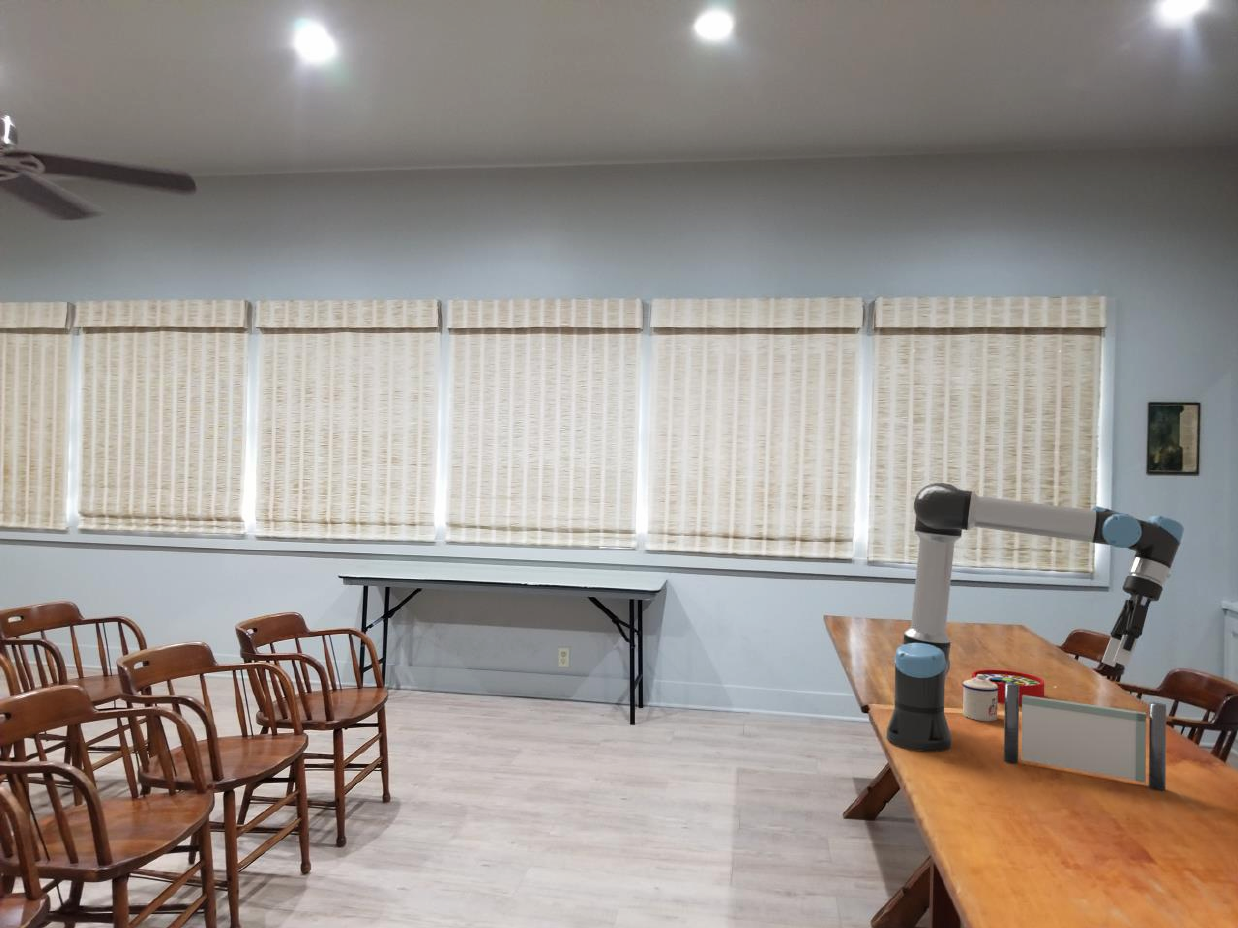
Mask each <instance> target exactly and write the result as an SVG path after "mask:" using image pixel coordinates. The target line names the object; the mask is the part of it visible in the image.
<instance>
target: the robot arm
mask: <svg viewBox="0 0 1238 928" xmlns="http://www.w3.org/2000/svg"><path fill="white" fill-rule="evenodd" d="M913 511H914V514H915V522H914V523H915V525H914V533H915V534H916V535H917V537H918V538H919V543H918V551H917V553H918V555H917V561H916V562H917V564H916V571H915V572H916V573H915V574H916V575H915V584H914V593H913V603H912V611H911V612H912V613H911V623H910V628H908V629H906V630H905V631H904V633H903V639H902V640H903V641H902V643H903V644H901V645H900V646H898V647H897V648H896V650H895V655H894V657H893V658H894V659H893V661H894V705H893V706H894V708H893V711H892V714H891V716H890V719H889V722H888V724H887V728H886V740H887V741H888V742H889V743H891V744H893V745H894V746H897V747H900V748H904V749H907V750H912V751H917V752H934V753H935V752H944V751H947V750H949V749H951V748H952V735H951V731H950V729H949V725H948V722H947V719H946V715H945V685H946V684H945V682H946V679H947V676H948V673H949V671H950V665H951V661H950V652H951V641H952V640H951V638H950V636H948V633H946V630H947V629H946V628H947V618H948V609H949V600H950V591H951V590H950V589H951V579H952V571H953V561H954V551H955V543H956V542H957V541H958V540H960V539H961V538H962V535H963V534H962V533H963V530H964V531H970V530H972V529H973V528H981V529H987V530H988V529H989V530H994V531H995V530H996V531H1003V532H1009V533H1010V532H1011V533H1018V534H1019V533H1020V534H1025V535H1033V536H1042V537H1047V538H1055V539H1062V540H1063V539H1064V540H1071V541H1076V542H1078V541H1079V542H1084V543H1085V542H1086V543H1093V544H1099V545H1104V546H1112V547H1114V548H1119V549H1120V548H1122V549H1128V550H1130V551H1134V553H1135V554H1134V557H1133V558H1132V561H1131V564H1130V566H1129V569H1128V572H1127V573H1128V574H1129V575H1128V576H1126V577H1125V580H1124V583H1123V586H1122V590H1123V591H1124V592H1125V593H1127V594H1130V598H1129V599H1125V600H1124V603H1123V606H1122V609H1121V611H1120V612H1119V616H1118V617H1117V619H1116V622H1115V623H1114V625H1113V628H1112V630H1111V631H1110V639H1109V642H1108V644H1107V646H1106V650H1105V652H1104V655H1103V657H1102V660H1101V663H1103V664H1106V665H1108V666H1111V667H1113V668H1115V667H1116V665H1117V664H1119V665H1122V666H1124V667H1129V666H1128V665H1129V662H1130V661H1131V658H1132V655H1133V652H1134V649H1135V647H1136V644H1137V642H1138V639H1139V638H1140V637H1141V636H1142V635H1143V630H1144V627H1145V622H1146V618H1147V614H1148V611H1149V607H1150V604H1151V603H1152V602H1158V601H1159V600H1160V598H1161V595H1162V592H1163V590H1164V588H1163V585H1165V583H1166V581H1167V578H1168V579H1169V578H1171V574H1170V573H1169V572H1170V570H1171V567H1172V564H1173V563H1174V560H1175V557H1176V555H1177V552H1178V549H1179V547H1180V545H1181V541H1182V538H1183V534H1184V531H1185V528H1184V525H1183V524H1182V523H1180V522H1179V521H1177V520H1175V519H1172V518H1169V517H1166V516H1165V517H1164V516H1162V515H1161V516H1160V515H1151V516H1150V517H1149V518H1148V519H1147V520H1142V519H1139V518H1135V517H1134V516H1132V515H1130V514H1129V513H1122V512H1118V511H1116V510H1112V509H1109V508H1107V507H1106V508H1105V507H1103V506H1098V505H1097V506H1094V507H1092V508H1091V509H1085V508H1077V507H1072V506H1071V507H1070V506H1069V507H1068V506H1063V505H1062V506H1061V505H1053V504H1052V505H1051V504H1044V503H1036V502H1030V501H1029V502H1028V501H1020V500H1013V499H1012V500H1011V499H1006V498H1005V499H1003V498H996V497H986V496H979V495H977V493H976V492H975V491H970V490H963V489H960V488H957V487H956V486H954V485H952V484H950V483H945V482H936V483H931V484H928V485H925V486H924V487H923V488H921V489H920V490H919V491H918V492H917V494H916V496H914V500H913Z"/></svg>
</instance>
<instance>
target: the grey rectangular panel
mask: <svg viewBox="0 0 1238 928" xmlns="http://www.w3.org/2000/svg"><path fill="white" fill-rule="evenodd" d="M1020 751H1021V754H1020V755H1021V758H1020V759H1021V761H1025V762H1030V763H1036V764H1041V765H1047V766H1053V767H1058V768H1064V769H1068V770H1074V771H1080V772H1085V773H1090V774H1097V775H1101V776H1107V777H1114V778H1118V779H1123V780H1129V781H1135V782H1139V783H1144V784H1146V780H1147V779H1146V778H1147V777H1146V774H1147V773H1146V772H1147V769H1146V768H1147V767H1146V766H1147V764H1146V763H1147V762H1146V761H1147V760H1146V759H1147V712H1145V711H1138V710H1131V709H1123V708H1117V707H1110V706H1102V705H1096V704H1089V703H1083V702H1082V703H1081V702H1076V701H1066V700H1059V699H1052V698H1047V697H1046V698H1045V697H1044V698H1041V697H1034V696H1027V695H1023V696H1022V705H1021V750H1020Z"/></svg>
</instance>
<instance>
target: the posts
mask: <svg viewBox="0 0 1238 928" xmlns="http://www.w3.org/2000/svg"><path fill="white" fill-rule="evenodd" d="M1148 708H1149V709H1148V710H1149V715H1148V716H1149V718H1148V719H1149V720H1148V722H1149V723H1148V724H1149V725H1148V738H1149V739H1148V788H1149V789H1151V790H1154V791H1159V792H1165V791H1166V783H1167V782H1166V781H1167V780H1166V777H1167V776H1166V775H1167V774H1166V772H1167V771H1166V769H1167V704H1166V703H1162V702H1158V701H1157V702H1156V701H1155V702H1154V701H1152V702H1151V701H1150V702H1149V707H1148ZM1019 720H1020V705H1019V684H1016V683H1010V682H1007V683H1005V703H1004V721H1003V723H1004V724H1003V725H1004V729H1003V732H1004V733H1003V734H1004V735H1003V741H1004V742H1003V761H1004V762H1005V763H1008V764H1012V765H1013V764H1015V765H1017V764H1019V742H1020V740H1019V739H1020V738H1019V737H1020V735H1019V734H1020V733H1019V732H1020V729H1019V728H1020V727H1019V725H1020V721H1019Z"/></svg>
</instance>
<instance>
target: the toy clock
mask: <svg viewBox="0 0 1238 928" xmlns="http://www.w3.org/2000/svg"><path fill="white" fill-rule="evenodd" d="M977 674H982V675H984V678H985V679H987V680H989V681H990V682H992V683H995V684H996V685H997V686H998V688H999V689H998V693H997V703H998V704H999V703H1000V704H1005V683H1007V682H1010V683H1016V684H1019V706H1022V696H1023V695H1027V696H1034V697H1041V698H1045V680H1044V679H1043V678H1040V677H1039V676H1036V675H1033V674H1029V673H1024V672H1020V671H1019V672H1018V671H1012V670H1006V669H978V670H974V671H972V673H971V679H972V678H976V677H977Z"/></svg>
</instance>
